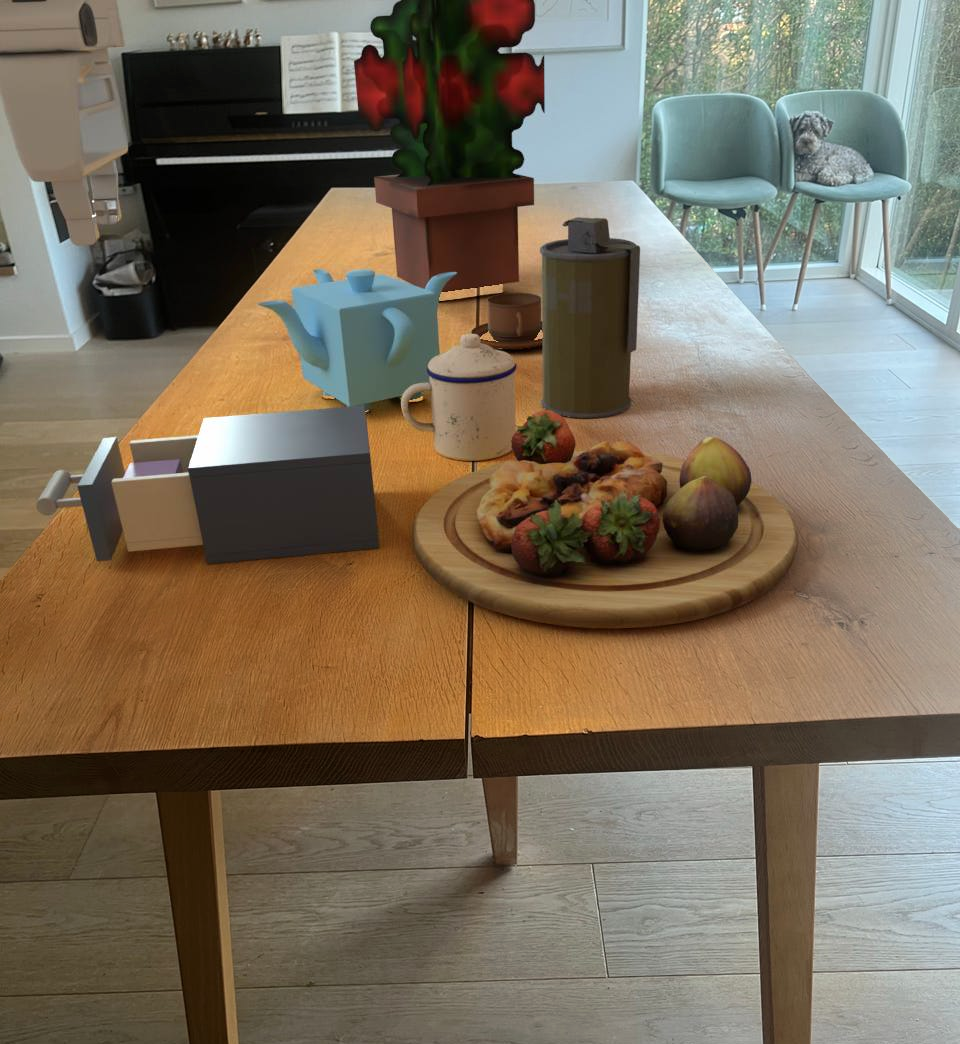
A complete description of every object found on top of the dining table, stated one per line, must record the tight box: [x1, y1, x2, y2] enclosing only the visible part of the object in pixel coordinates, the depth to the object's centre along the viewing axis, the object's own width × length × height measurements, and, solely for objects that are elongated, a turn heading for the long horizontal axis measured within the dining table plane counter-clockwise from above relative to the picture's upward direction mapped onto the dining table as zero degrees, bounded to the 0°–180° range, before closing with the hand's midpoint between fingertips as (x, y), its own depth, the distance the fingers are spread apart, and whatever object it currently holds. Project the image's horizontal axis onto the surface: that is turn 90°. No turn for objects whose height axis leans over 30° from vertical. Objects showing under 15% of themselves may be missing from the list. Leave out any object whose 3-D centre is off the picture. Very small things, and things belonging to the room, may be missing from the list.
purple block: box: [123, 459, 183, 478], centre depth 89 cm, size 4×4×4 cm
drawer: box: [35, 434, 203, 562], centre depth 89 cm, size 18×11×7 cm, turn 98°
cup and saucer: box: [470, 292, 543, 350], centre depth 140 cm, size 12×12×6 cm
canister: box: [539, 216, 641, 419], centre depth 113 cm, size 11×10×20 cm
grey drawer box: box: [188, 405, 380, 565], centre depth 90 cm, size 15×13×9 cm
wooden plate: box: [411, 409, 799, 629], centre depth 85 cm, size 32×32×8 cm
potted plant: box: [353, 0, 546, 292], centre depth 160 cm, size 22×22×45 cm
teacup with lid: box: [400, 333, 518, 462], centre depth 104 cm, size 12×9×12 cm
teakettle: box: [257, 268, 457, 411], centre depth 120 cm, size 19×19×15 cm
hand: (98, 233), depth 78 cm, fingers open, 8 cm apart
